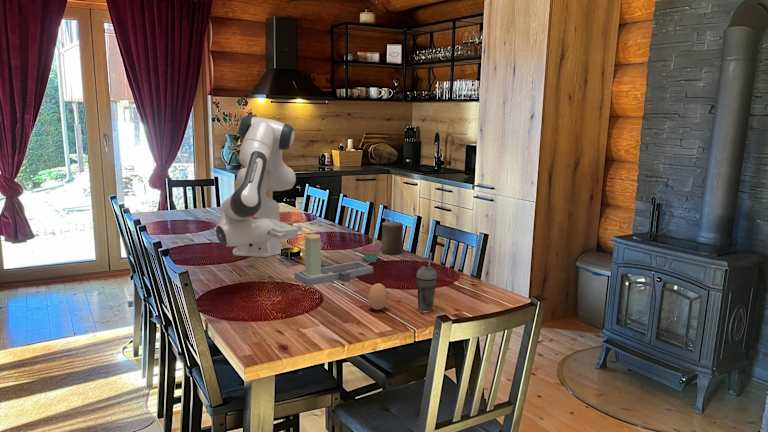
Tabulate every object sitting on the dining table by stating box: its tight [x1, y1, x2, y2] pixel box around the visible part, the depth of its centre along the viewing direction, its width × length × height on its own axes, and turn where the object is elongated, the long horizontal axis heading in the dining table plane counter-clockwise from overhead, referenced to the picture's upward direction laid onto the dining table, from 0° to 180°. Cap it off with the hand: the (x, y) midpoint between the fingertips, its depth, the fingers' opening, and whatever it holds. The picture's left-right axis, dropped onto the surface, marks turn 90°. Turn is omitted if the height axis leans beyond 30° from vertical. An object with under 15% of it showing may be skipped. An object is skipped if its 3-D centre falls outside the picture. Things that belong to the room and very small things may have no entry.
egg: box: [367, 282, 389, 311], centre depth 191 cm, size 7×7×9 cm
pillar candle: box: [381, 221, 404, 256], centre depth 264 cm, size 10×10×15 cm
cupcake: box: [360, 234, 382, 263], centre depth 250 cm, size 9×8×12 cm
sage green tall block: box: [302, 233, 325, 278], centre depth 220 cm, size 6×7×17 cm
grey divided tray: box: [293, 260, 374, 286], centre depth 228 cm, size 30×18×3 cm, turn 128°
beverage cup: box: [415, 252, 438, 312], centre depth 191 cm, size 7×7×20 cm
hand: (296, 226), depth 213 cm, fingers open, 5 cm apart
